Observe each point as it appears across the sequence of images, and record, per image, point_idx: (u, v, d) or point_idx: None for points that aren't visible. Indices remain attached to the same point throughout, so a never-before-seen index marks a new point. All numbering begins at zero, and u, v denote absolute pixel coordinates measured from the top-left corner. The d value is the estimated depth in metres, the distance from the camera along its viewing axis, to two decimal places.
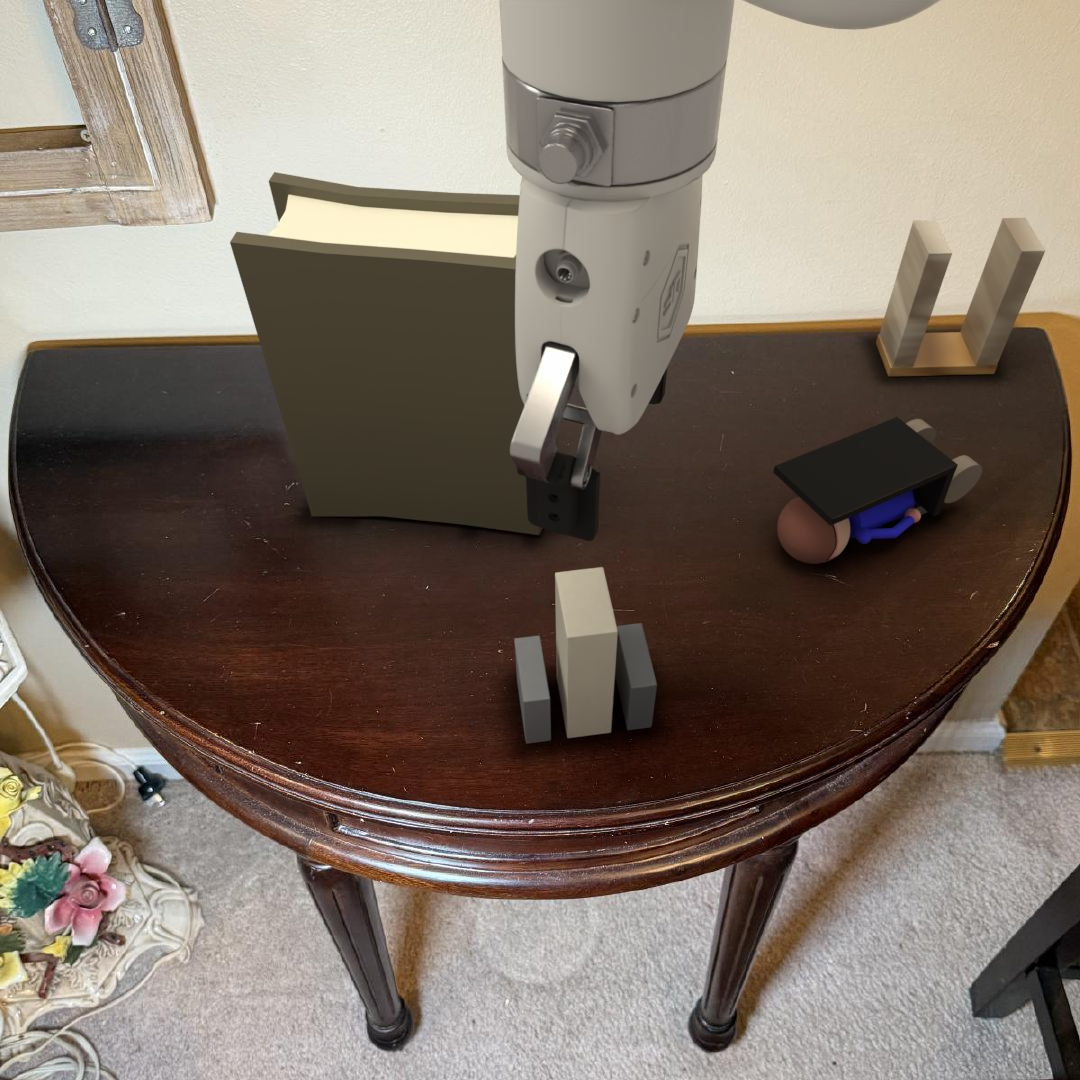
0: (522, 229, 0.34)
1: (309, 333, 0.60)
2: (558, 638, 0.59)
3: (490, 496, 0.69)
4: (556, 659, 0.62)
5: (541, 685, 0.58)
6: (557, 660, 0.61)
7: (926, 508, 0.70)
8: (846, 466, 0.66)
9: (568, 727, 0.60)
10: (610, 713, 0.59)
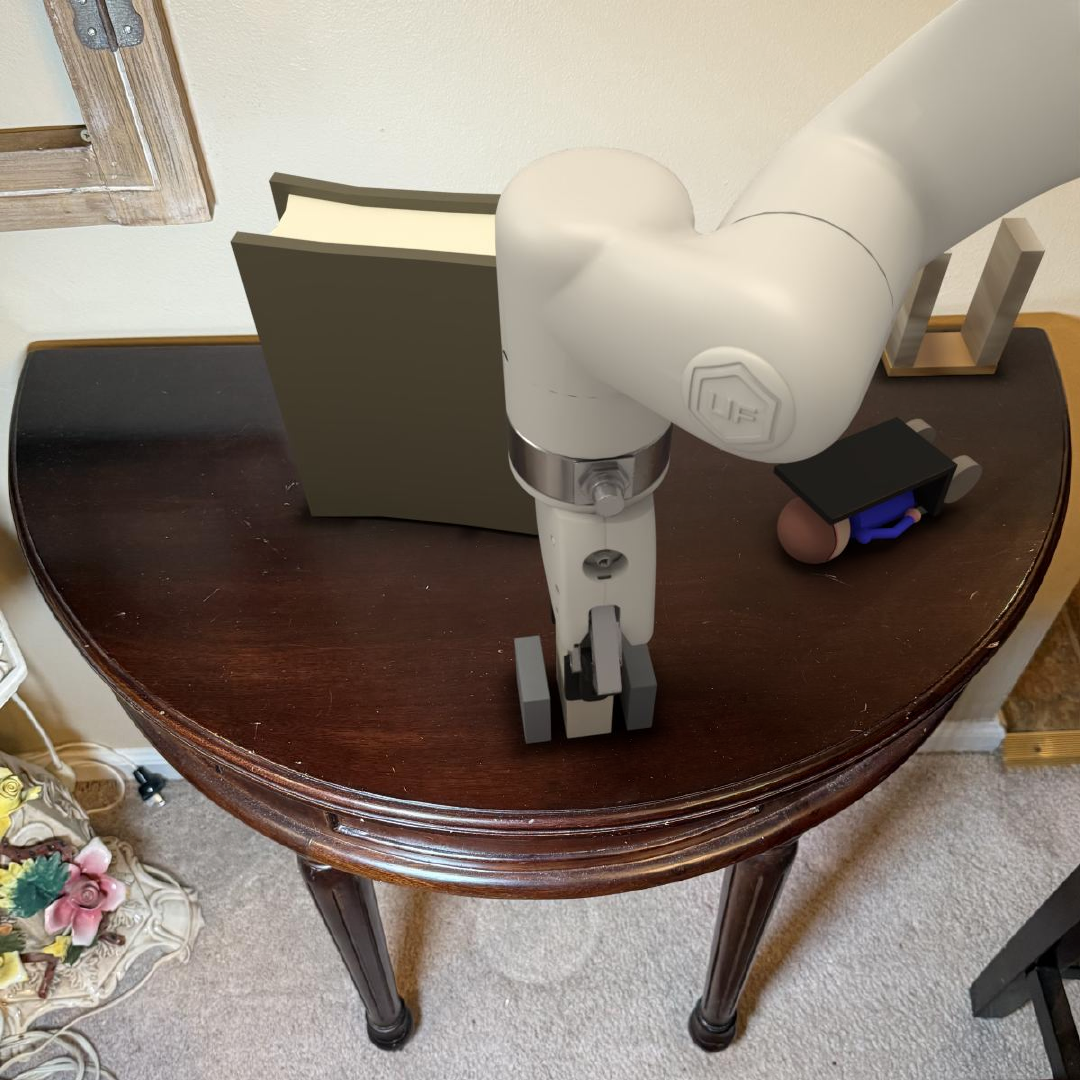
0: (566, 544, 0.44)
1: (309, 333, 0.60)
2: (558, 638, 0.59)
3: (490, 496, 0.69)
4: (556, 659, 0.62)
5: (541, 685, 0.58)
6: (557, 660, 0.61)
7: (926, 508, 0.70)
8: (846, 466, 0.66)
9: (568, 727, 0.60)
10: (610, 713, 0.59)
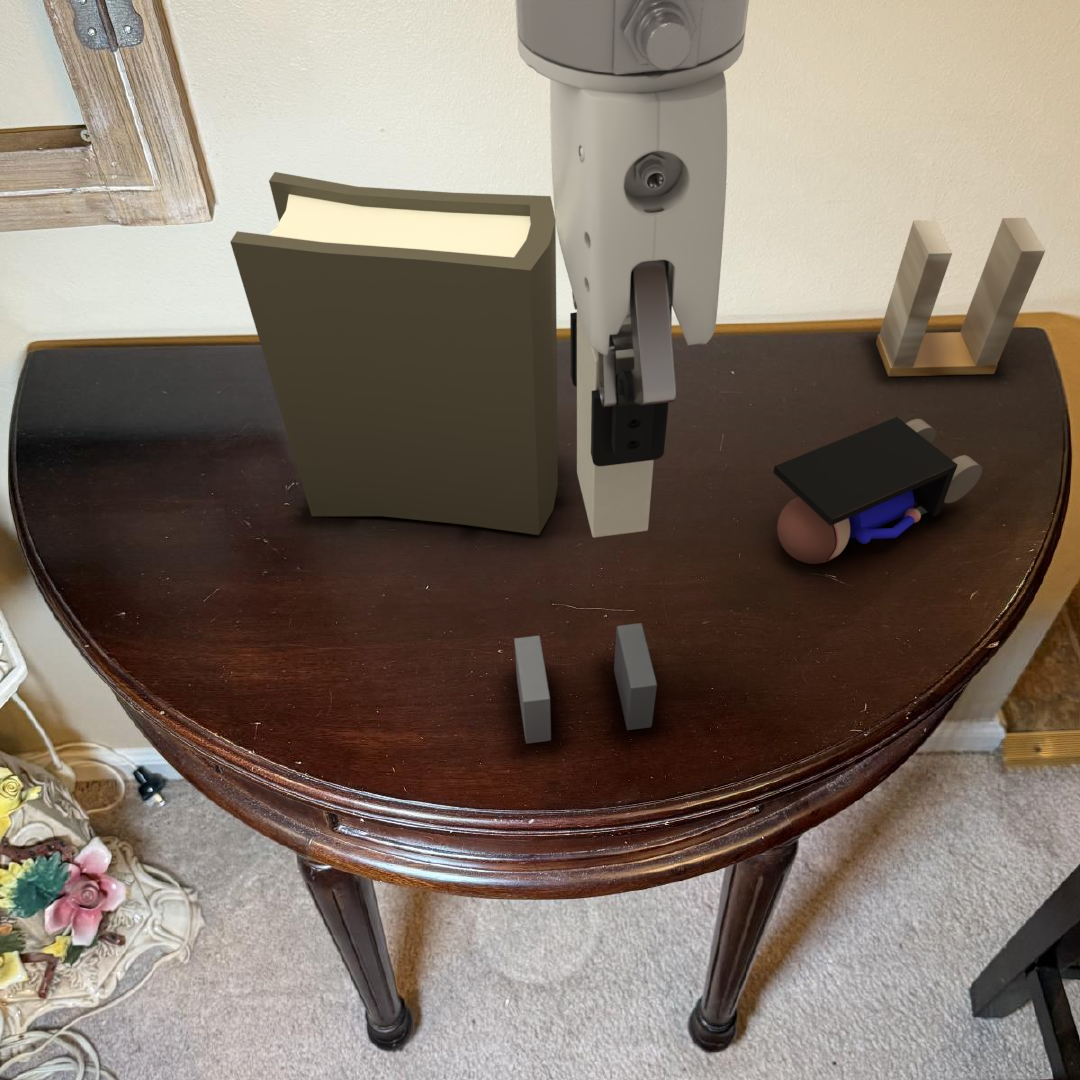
0: (602, 144, 0.31)
1: (309, 333, 0.60)
2: (580, 398, 0.46)
3: (490, 496, 0.69)
4: (577, 443, 0.49)
5: (541, 685, 0.58)
6: (578, 440, 0.48)
7: (926, 508, 0.70)
8: (846, 466, 0.66)
9: (594, 519, 0.47)
10: (648, 497, 0.46)
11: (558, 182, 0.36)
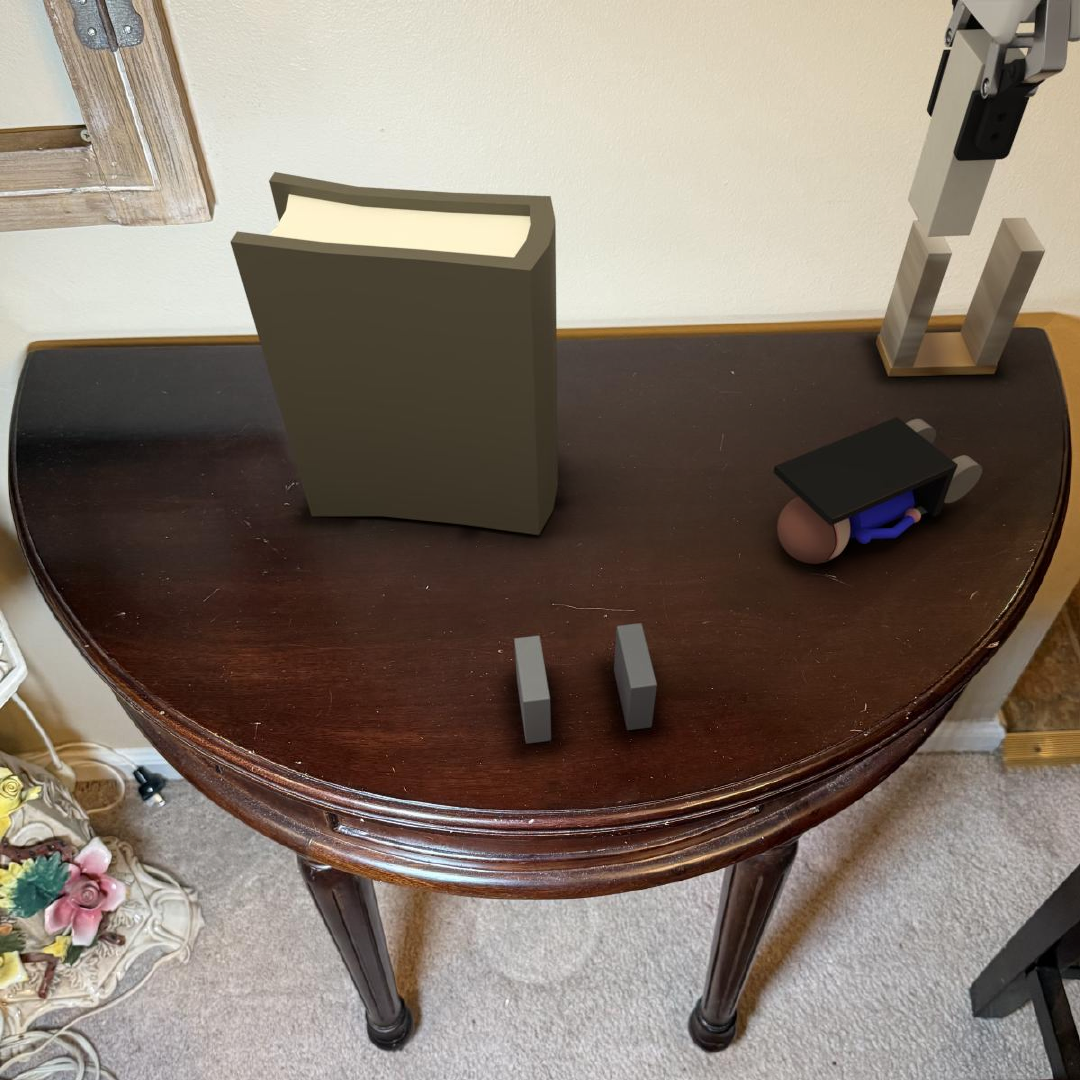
0: None
1: (309, 333, 0.60)
2: (938, 120, 0.61)
3: (490, 496, 0.69)
4: (916, 169, 0.64)
5: (541, 685, 0.58)
6: (921, 164, 0.64)
7: (926, 508, 0.70)
8: (846, 466, 0.66)
9: (934, 218, 0.62)
10: (980, 201, 0.61)
11: None
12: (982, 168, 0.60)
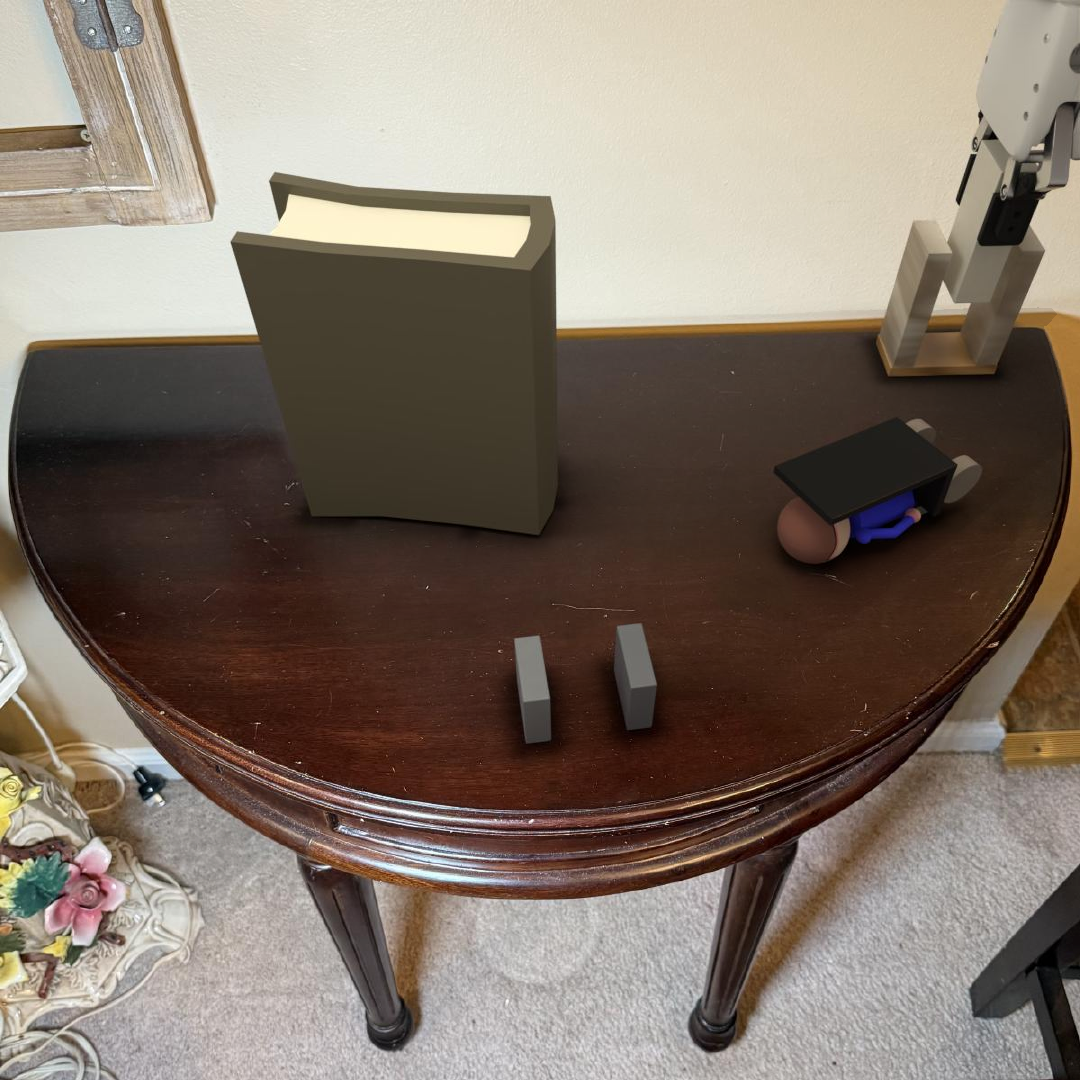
0: (1064, 32, 0.59)
1: (309, 333, 0.60)
2: (965, 209, 0.74)
3: (490, 496, 0.69)
4: None
5: (541, 685, 0.58)
6: (950, 242, 0.77)
7: (926, 508, 0.70)
8: (846, 466, 0.66)
9: (960, 289, 0.75)
10: (998, 276, 0.74)
11: (1008, 61, 0.64)
12: (1000, 251, 0.73)
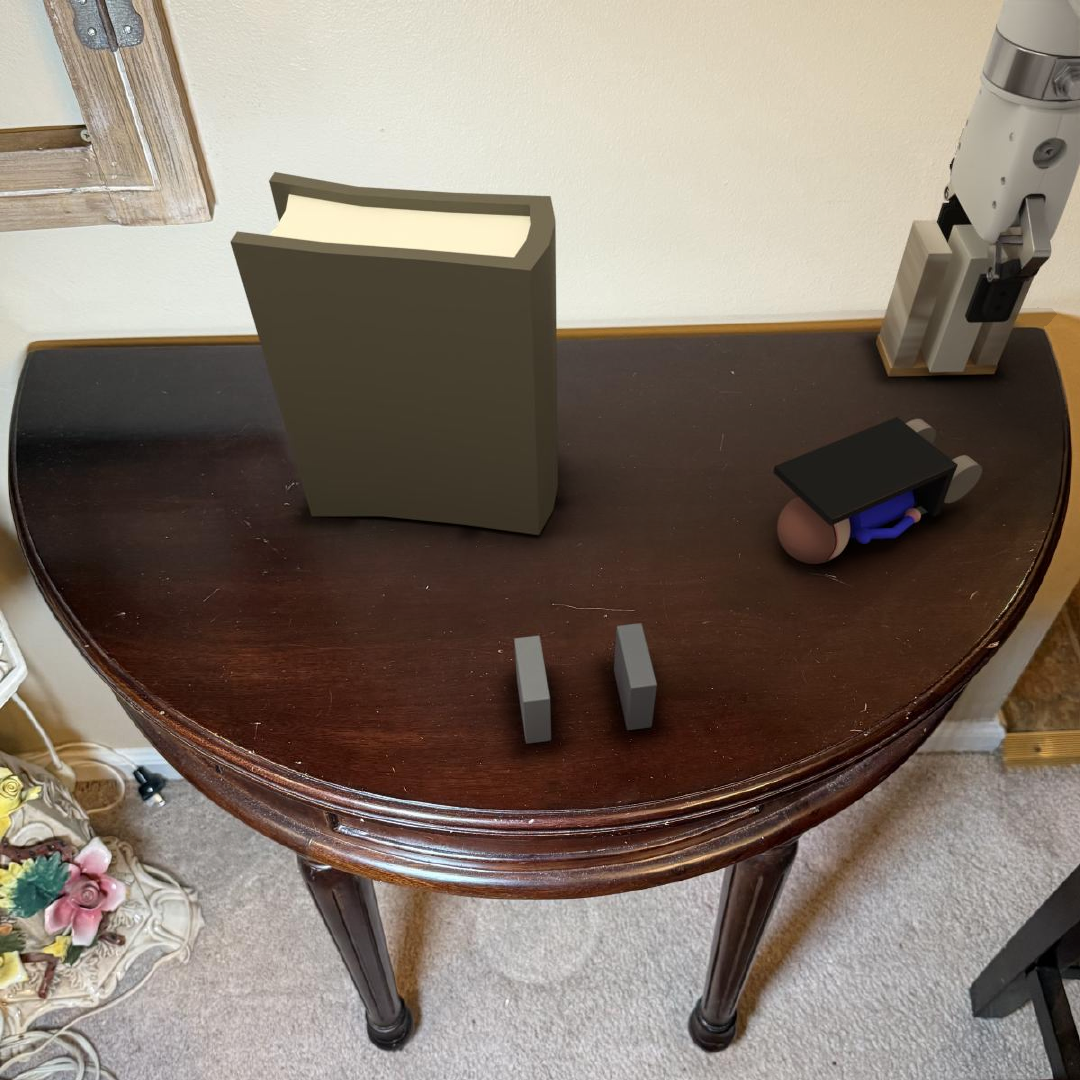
0: (1028, 132, 0.64)
1: (309, 333, 0.60)
2: None
3: (490, 496, 0.69)
4: None
5: (541, 685, 0.58)
6: None
7: (926, 508, 0.70)
8: (846, 466, 0.66)
9: (935, 359, 0.80)
10: (970, 349, 0.80)
11: (978, 152, 0.69)
12: (972, 326, 0.78)
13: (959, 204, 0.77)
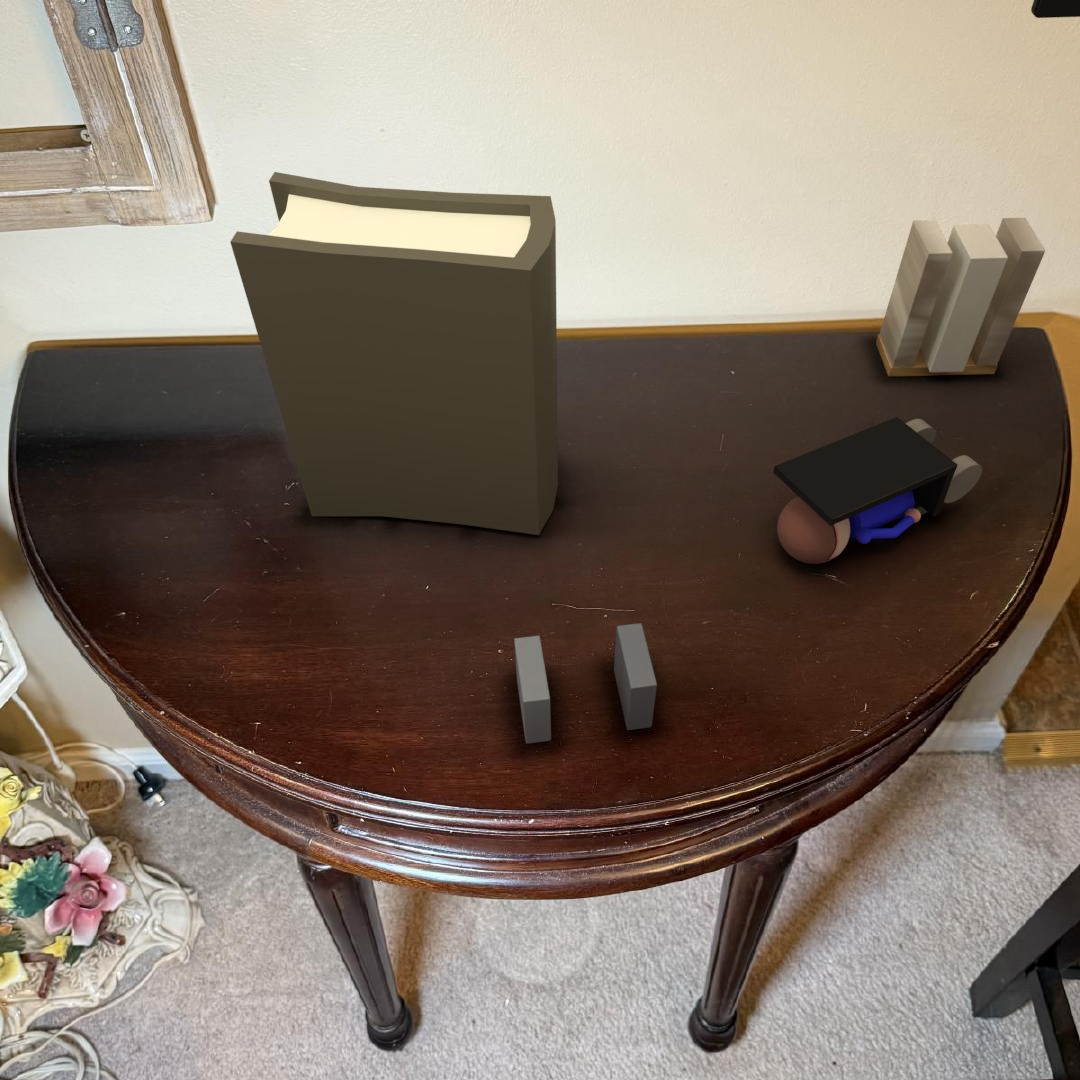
0: None
1: (309, 333, 0.60)
2: None
3: (490, 496, 0.69)
4: None
5: (541, 685, 0.58)
6: None
7: (926, 508, 0.70)
8: (846, 466, 0.66)
9: (935, 359, 0.80)
10: (970, 349, 0.80)
11: None
12: (972, 326, 0.78)
13: None
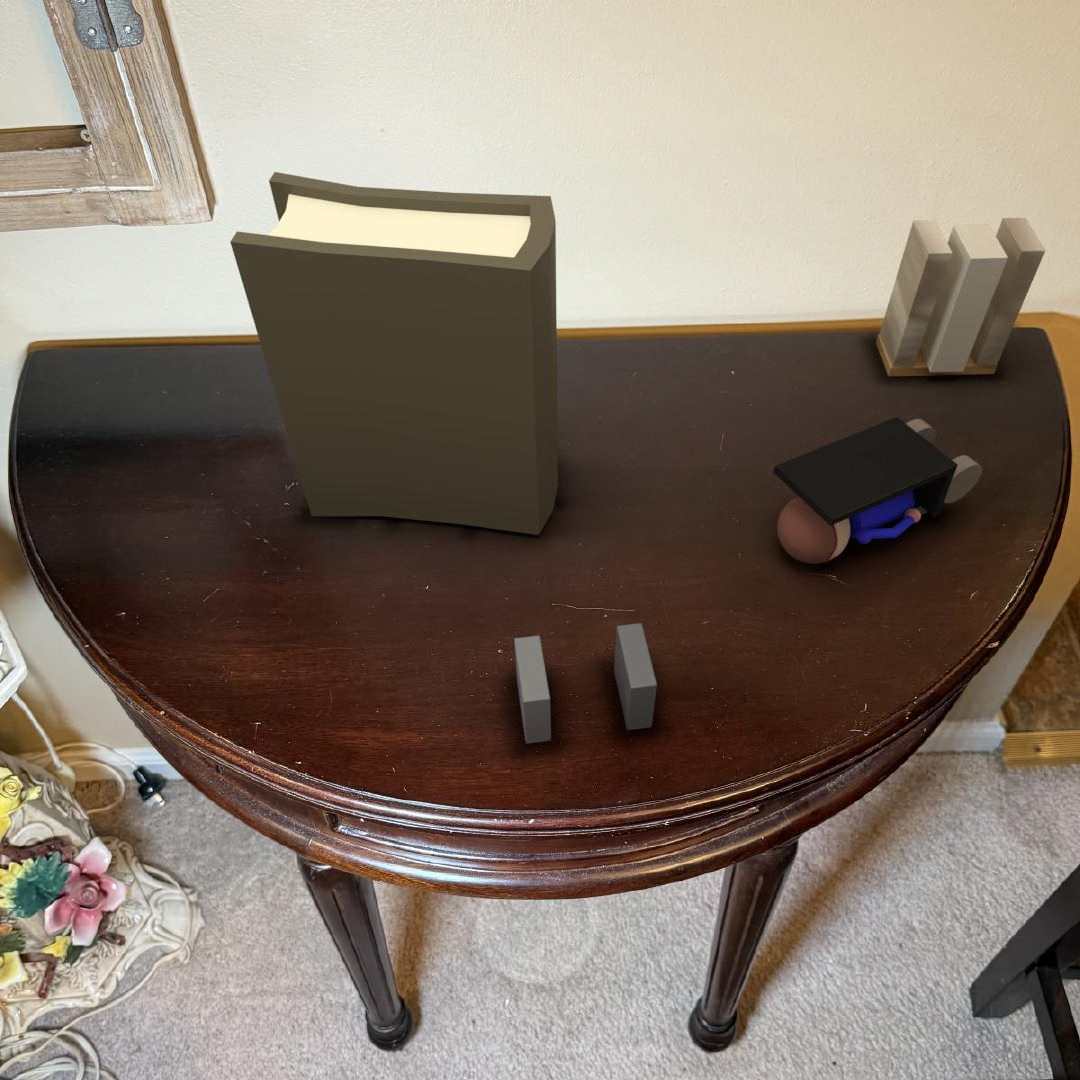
0: None
1: (309, 333, 0.60)
2: None
3: (490, 496, 0.69)
4: None
5: (541, 685, 0.58)
6: None
7: (926, 508, 0.70)
8: (846, 466, 0.66)
9: (935, 359, 0.80)
10: (970, 349, 0.80)
11: None
12: (972, 326, 0.78)
13: None
